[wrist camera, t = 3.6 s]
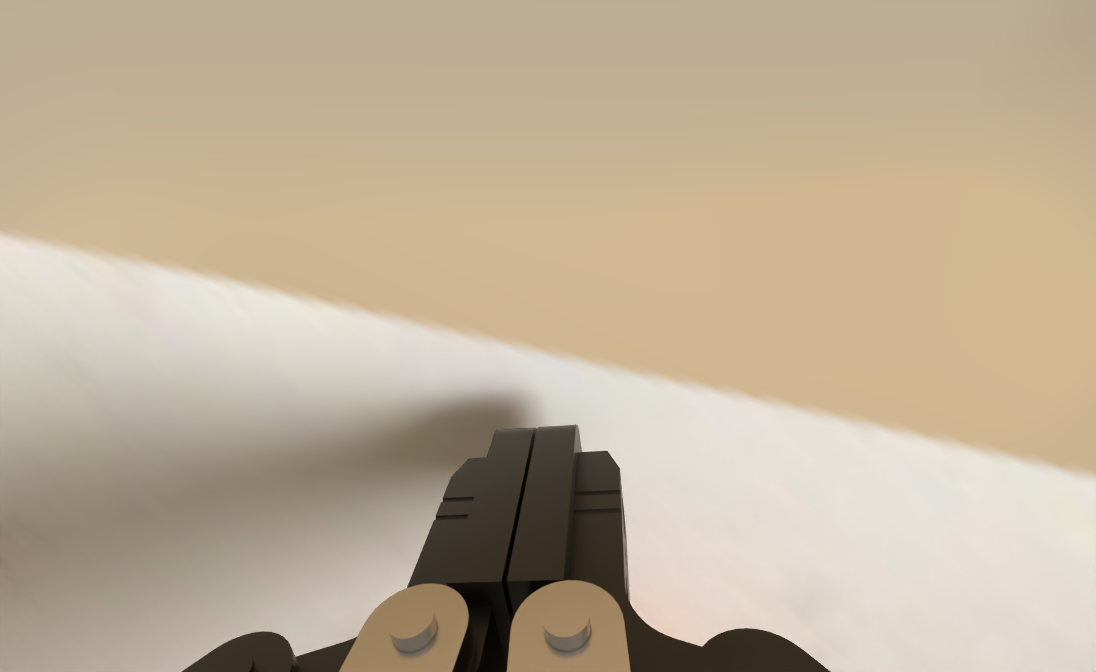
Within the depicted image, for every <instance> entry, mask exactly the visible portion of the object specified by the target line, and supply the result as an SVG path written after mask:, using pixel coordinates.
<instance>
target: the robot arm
mask: <svg viewBox="0 0 1096 672" xmlns="http://www.w3.org/2000/svg"><path fill="white" fill-rule="evenodd" d="M182 672H830V671H829V670H828V669H826V668H825V667H824V666H823V665H821V664H820V663H819V662H818V661H816V660H815V659H814V658H813V657H811V656H810V655H809V654H807V653H806V652H805V651H804V650H802V649H801V648H800V647H798V646H797V645H795V644H794V643H792V642H791V641H789V640H787V639H785V638H783V637H781V636H779V635H776V634H773V633H771V632H767V631H763V630H758V629H748V628H745V629H734V630H730V631H726V632H723V633H721V634H718V635H716V636H715V637H713V638H712V639H710V640H709V641H708V642H707V643H706V644H705V645H704V646H703V647H701V646H697V645H694V644H691V643H687V642H684V641H681V640H677V639H674V638H672V637H669V636H666V635H664V634H662V633H660V632H658V631H656V630H655V629H653V628H652V627H650V626H649V625H648V624H646V623H645V622H644V621H643V620H642V619H641V618H640V617H639V616H638V615H637V613H636V612H635V611H634V609H633V608H632V606H631V604H630V598H629V581H628V561H627V540H626V528H625V517H624V507H623V497H622V486H621V476H620V468H619V467H618V465H617V464H616V462H615V461H614V460H613V458H612V457H611V456H610V454H609V453H608V451H596V452H582V450H581V442H580V434H579V429H578V426H577V425H566V426H549V427H538V428H537V429H536V428H519V429H503V430H496V432H495V434H494V437H493V440H492V443H491V446H490V449H489V452H488V455H487V458H471V459H468V460H467V461H466V462H465V464H464V465H463V466H462V467H461V468H460V469H459V470H458V471H457V472H456V473H455V474H454V475H453V476H452V477H451V479H450V481H449V484H448V486H447V489H446V491H445V494H444V496H443V502H441V504H440V507H439V509H438V512H437V514H436V520H434V522H433V524H432V527H431V529H430V532H429V534H428V537H427V539H426V542H425V544H424V547H423V549H422V552H421V554H420V557H419V559H418V562H417V564H416V567H415V569H414V572H413V574H412V577H411V579H410V582H409V584H408V587H407V588H406V589H404V590H402V591H399V592H397V593H396V594H394V595H392V596H391V597H389V598H388V599H386V600H385V601H384V602H382V603H381V604H380V605H379V606H378V607H377V608H376V609H375V610H374V611H373V613H372V614H371V615H370V616H369V618H368V619H367V621H366V622H365V624H364V626H363V628H362V629H361V631H360V633H359V635H358V637H356V638H354V639H351V640H348V641H345V642H343V643H339V644H336V645H333V646H330V647H326V648H323V649H320V650H317V651H313V652H310V653H307V654H304V655H300V656H297V657H295V655H294V653H293V650H292V648H291V646H290V644H289V642H288V641H287V640H286V639H285V638H284V637H283V636H281V635H279V634H276V633H272V632H255V633H250V634H246V635H243V636H240V637H237V638H235V639H232V640H230V641H228V642H226V643H224V644H223V645H221V646H219V647H218V648H216V649H214V650H213V651H211V652H210V653H208V654H207V655H205V656H204V657H203V658H201V659H200V660H198V661H197V662H195V663H194V664H192V665H191V666H189V667H188V668H186V669H185V670H183V671H182Z"/></svg>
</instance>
